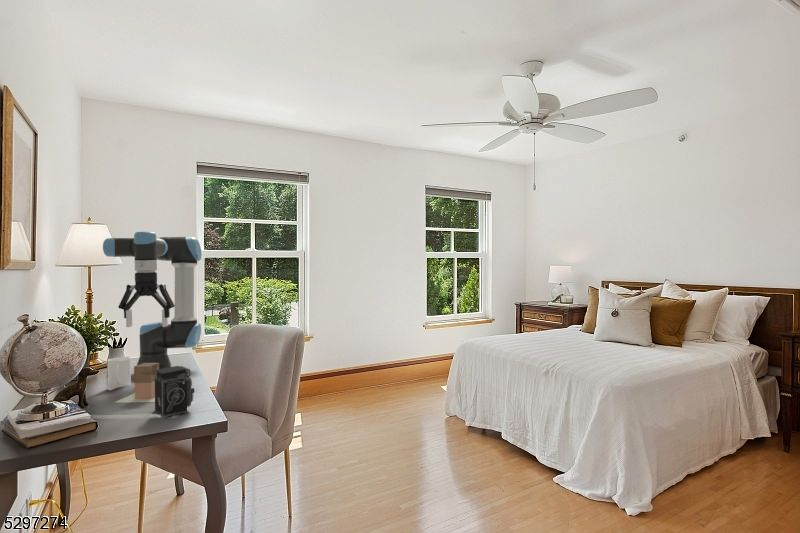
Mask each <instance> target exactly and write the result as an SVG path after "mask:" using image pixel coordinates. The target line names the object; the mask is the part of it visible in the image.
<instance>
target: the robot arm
mask: <svg viewBox="0 0 800 533" xmlns="http://www.w3.org/2000/svg"><path fill="white" fill-rule="evenodd" d="M201 248H202V247H201V244H200V241H199V240H198V239H197V237H193V236H163V237H162V236H161V237H157V233H156V232H153V231H136V232H134V235H133V237H132V238H131V237H111V238H110V237H109V238H108V237H107V238H106V239H104V241H103V242H102V251H103V254H104V255H105V256H106V257H108V258H109V257H110V258H123V257H124V258H126V257H127V258H128V257H130V258H133V257H134V271H135V273H134V281H135V282H134V283H135V284H127V285H126V288H125V289H126V290H125V292H124V294H123V297H121V298H122V299H121V300H120V302H119V305H118V309H121V310H123V318H124V319H126V320H125V321H126V322H125V323H126V326H125V327H126V328H131V327H133V309H131V307H133V306H134V304H135V303H136V301H138V299H139V298H140V297H145V296H146V297H152V298H154V300H155V301H156V302H157V303H158V304H159V305H160V306H161V307H162V308H163V309H161V321H157V322H151V323H146V324H142V325H141V326H140V328H139V358H138V361H137V363H136V365H139V364H142V363H159V369H164V368H169V367H172V362H171V361H170V360H171V359H170V357H169V354H168V349H189V348H195V347H196V346H197V345H198V344H199V342H200V340H201V335H202V324H201V323H199V322H198V319H197V318H196V317H195V313H194V312H195V306H194V305H195V299H194V298H195V267H197V265H198V261H201V260H202V249H201ZM157 260H158V261H167V262H168V261H169V262H171V264H170V265H171V266H172V267H173V268H174V301H173V299H172V298H171V296H170V294H169V292H168V290H167V284H165V283H161V284H158V273H157V270H158V263H157ZM134 290H135V292H134V294H133V296H132V297H131V295H132V293H133V291H134ZM157 290H159V291H160V293H159V292H158V291H157ZM160 294H161V295H160ZM130 297H131V298H130ZM173 308H174V316H173V318H172V319H171V320H170V323H169V324H168V318H170V315H171V314H170V312H171V311H170V310H171V309H173Z"/></svg>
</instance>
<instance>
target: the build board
mask: <svg viewBox="0 0 800 533" xmlns="http://www.w3.org/2000/svg"><path fill="white" fill-rule="evenodd" d="M114 403H116V404H117V403H118V404H119V403H120V404H121V403H125V404H126V403H155V397H154V398H152V399H135V392H133V393H131V394H129V395H127V396H125V397H123V398H121V399H119V400H116V401H114Z"/></svg>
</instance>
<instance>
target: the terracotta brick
mask: <svg viewBox="0 0 800 533" xmlns="http://www.w3.org/2000/svg"><path fill="white" fill-rule="evenodd" d="M134 393H135V399H152V398H154V397H155V381H153V382H151V383H134Z"/></svg>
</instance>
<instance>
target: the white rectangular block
mask: <svg viewBox="0 0 800 533" xmlns="http://www.w3.org/2000/svg"><path fill="white" fill-rule="evenodd" d="M131 361H132V360H131V357H130V356H129V357H128V356H120V357H113V358H109V359H107V388H106V390H107V391H113V390H115V389H117V388H123V387H128V386H130V385H131V384H132V380H131V378H132V377H131V376H132V374H131V372H132V371H131V368H132V367H131V365H132V364H131Z"/></svg>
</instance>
